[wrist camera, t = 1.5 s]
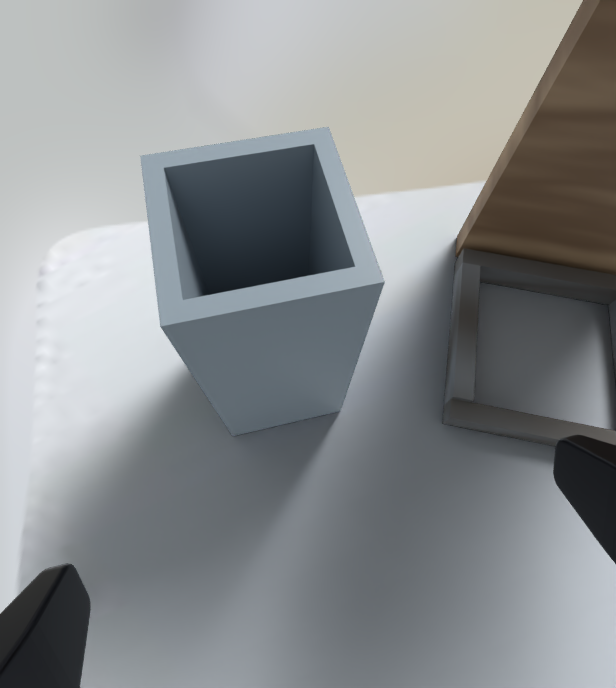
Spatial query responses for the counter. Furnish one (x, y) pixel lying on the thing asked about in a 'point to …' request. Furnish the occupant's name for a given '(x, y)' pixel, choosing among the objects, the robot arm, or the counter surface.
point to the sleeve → (262, 273)
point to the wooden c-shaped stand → (544, 217)
